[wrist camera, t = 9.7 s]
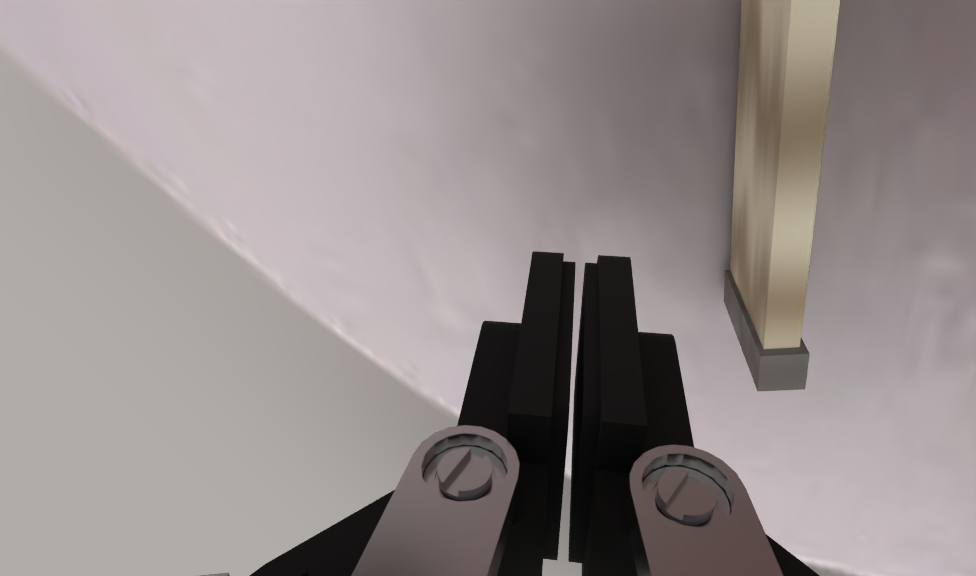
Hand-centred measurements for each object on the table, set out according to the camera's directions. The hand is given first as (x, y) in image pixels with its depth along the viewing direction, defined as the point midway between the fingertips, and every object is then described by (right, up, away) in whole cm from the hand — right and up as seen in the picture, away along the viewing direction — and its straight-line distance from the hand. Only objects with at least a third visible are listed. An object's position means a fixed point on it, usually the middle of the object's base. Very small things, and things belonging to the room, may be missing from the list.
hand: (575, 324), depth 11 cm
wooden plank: (+8, +9, +11) cm, 16 cm away
